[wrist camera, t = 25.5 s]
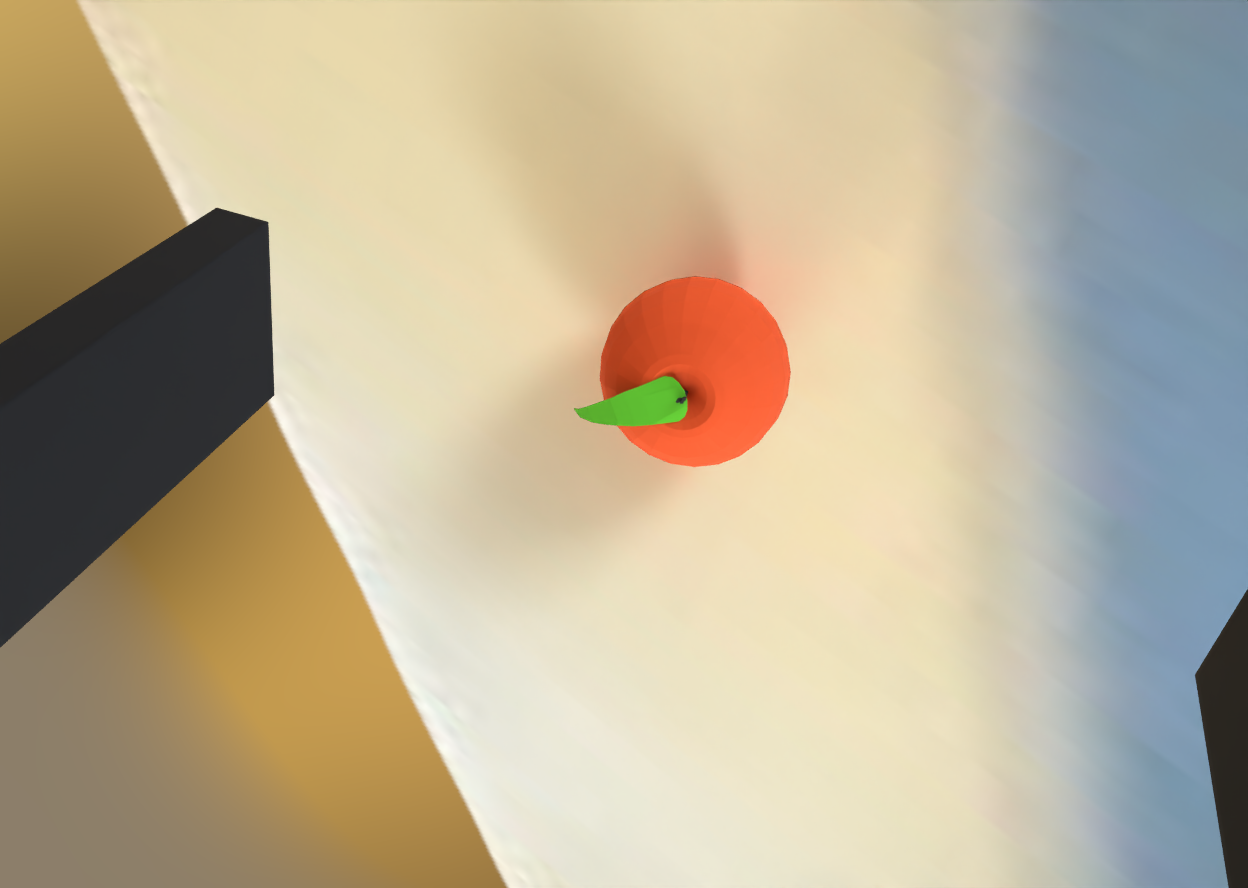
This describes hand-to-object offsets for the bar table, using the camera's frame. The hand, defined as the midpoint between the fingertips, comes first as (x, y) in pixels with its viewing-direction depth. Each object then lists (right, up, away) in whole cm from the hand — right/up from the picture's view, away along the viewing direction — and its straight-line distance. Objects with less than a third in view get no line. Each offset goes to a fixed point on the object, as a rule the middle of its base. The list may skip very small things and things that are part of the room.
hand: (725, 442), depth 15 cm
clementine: (+1, +4, +31) cm, 31 cm away
